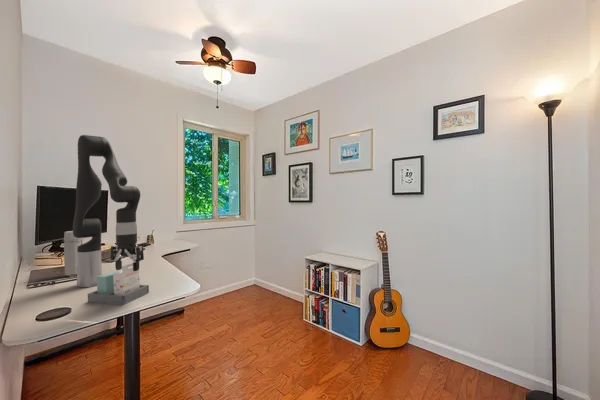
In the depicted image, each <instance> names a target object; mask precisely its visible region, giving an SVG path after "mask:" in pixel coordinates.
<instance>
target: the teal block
mask: <svg viewBox="0 0 600 400" xmlns="http://www.w3.org/2000/svg"><path fill="white" fill-rule="evenodd" d="M119 271H120V270H113V271H110V272H107V273H104V274H103V273H102V275H100V276H97V285H96V288H97V289H96V291H97V294H108V293H111V292H113V291H114V280H113V273H116V272H119Z"/></svg>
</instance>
